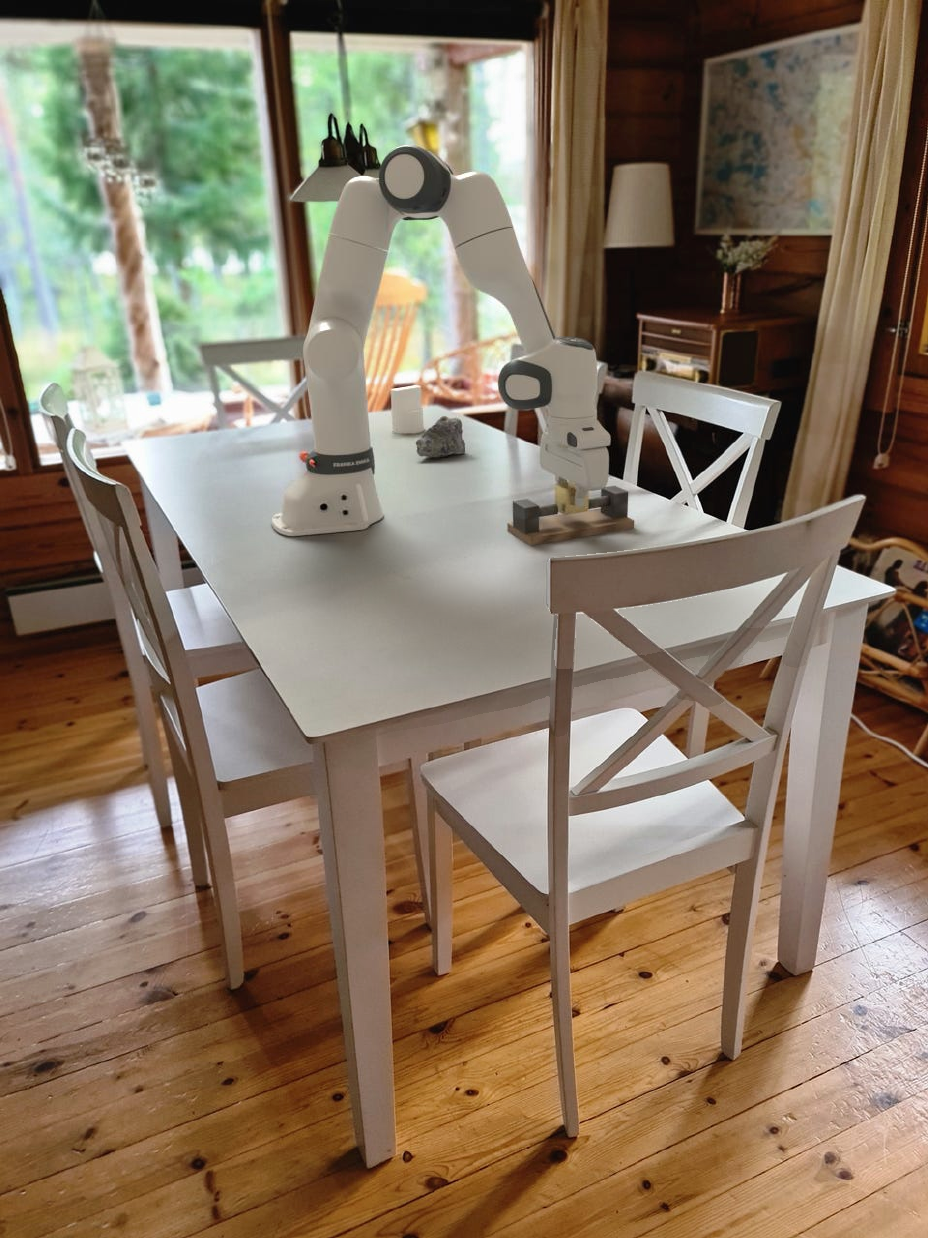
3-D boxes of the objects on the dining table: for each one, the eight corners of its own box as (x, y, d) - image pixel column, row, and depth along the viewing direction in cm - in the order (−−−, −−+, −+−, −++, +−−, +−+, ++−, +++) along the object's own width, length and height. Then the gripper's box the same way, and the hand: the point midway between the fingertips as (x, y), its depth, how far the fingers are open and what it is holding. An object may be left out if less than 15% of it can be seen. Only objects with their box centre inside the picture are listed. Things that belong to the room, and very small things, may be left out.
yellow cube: (565, 515, 173) (565, 489, 171) (554, 509, 177) (555, 484, 174) (588, 511, 175) (588, 485, 173) (577, 505, 178) (578, 480, 176)
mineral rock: (417, 462, 230) (415, 421, 226) (413, 452, 240) (411, 413, 236) (468, 459, 231) (467, 418, 227) (463, 449, 241) (462, 410, 237)
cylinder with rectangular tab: (411, 425, 271) (409, 383, 266) (430, 430, 264) (428, 387, 259) (386, 430, 266) (383, 388, 261) (404, 435, 259) (402, 391, 254)
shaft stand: (530, 545, 169) (530, 511, 166) (507, 530, 178) (507, 497, 175) (634, 527, 176) (635, 494, 174) (607, 514, 185) (608, 482, 182)
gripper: (531, 421, 177) (531, 491, 183) (584, 442, 160) (583, 518, 165) (560, 417, 179) (559, 487, 185) (615, 437, 162) (613, 513, 168)
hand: (571, 502), depth 175 cm, fingers closed on yellow cube, 4 cm apart
